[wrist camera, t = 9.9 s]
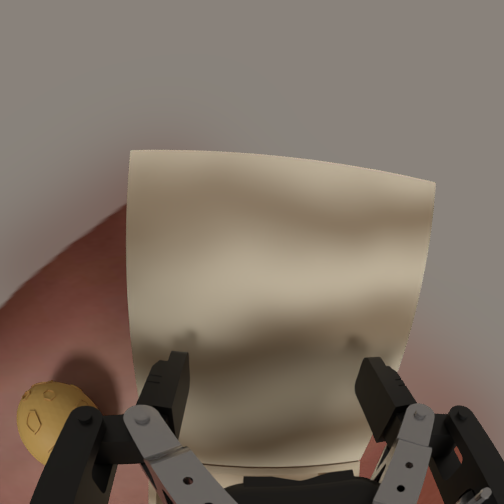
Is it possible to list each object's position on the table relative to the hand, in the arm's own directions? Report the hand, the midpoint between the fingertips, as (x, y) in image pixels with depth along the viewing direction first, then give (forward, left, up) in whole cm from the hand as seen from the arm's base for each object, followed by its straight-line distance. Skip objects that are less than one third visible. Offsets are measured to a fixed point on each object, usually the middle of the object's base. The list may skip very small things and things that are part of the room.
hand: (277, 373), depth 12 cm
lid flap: (-1, +1, -2) cm, 3 cm away
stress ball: (-8, -19, -19) cm, 28 cm away
